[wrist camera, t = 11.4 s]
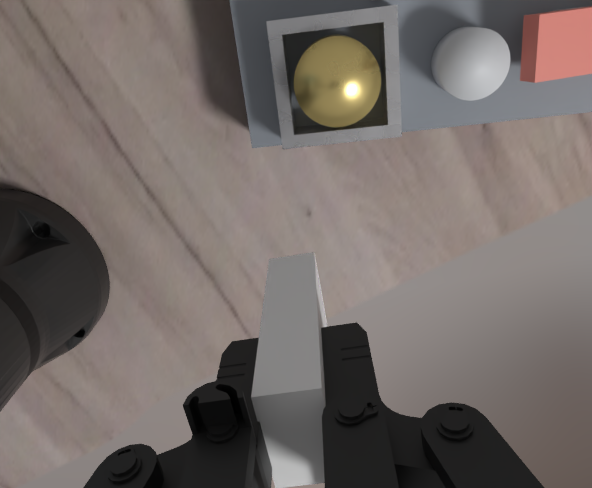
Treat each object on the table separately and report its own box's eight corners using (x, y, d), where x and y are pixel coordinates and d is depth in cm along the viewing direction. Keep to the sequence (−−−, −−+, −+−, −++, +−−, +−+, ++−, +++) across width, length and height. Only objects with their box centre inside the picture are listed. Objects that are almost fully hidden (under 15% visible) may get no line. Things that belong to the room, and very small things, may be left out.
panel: (258, 135, 38) (247, 157, 32) (223, -102, 32) (202, -127, 26) (592, 98, 36) (645, 115, 30) (622, -161, 30) (696, -204, 24)
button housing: (285, 140, 34) (282, 149, 32) (270, 20, 31) (266, 21, 29) (396, 128, 34) (401, 136, 31) (391, 5, 31) (397, 4, 28)
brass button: (300, 121, 33) (298, 131, 30) (291, 39, 31) (288, 42, 28) (377, 113, 33) (383, 122, 30) (373, 29, 31) (378, 31, 28)
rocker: (519, 80, 31) (534, 82, 29) (523, 15, 29) (539, 14, 28) (607, 66, 32) (625, 68, 30) (615, 2, 30) (635, 1, 29)
